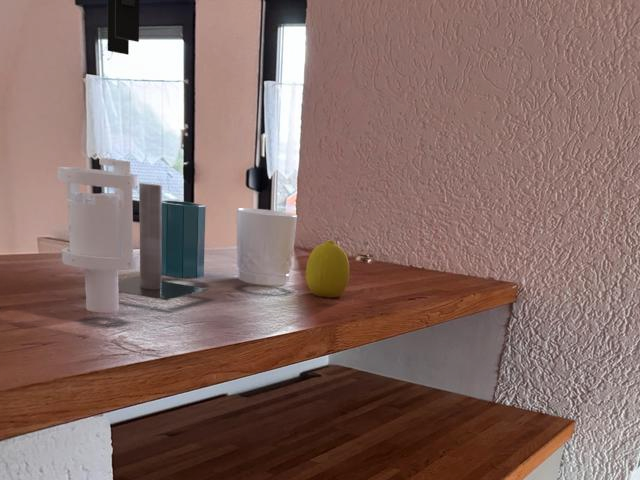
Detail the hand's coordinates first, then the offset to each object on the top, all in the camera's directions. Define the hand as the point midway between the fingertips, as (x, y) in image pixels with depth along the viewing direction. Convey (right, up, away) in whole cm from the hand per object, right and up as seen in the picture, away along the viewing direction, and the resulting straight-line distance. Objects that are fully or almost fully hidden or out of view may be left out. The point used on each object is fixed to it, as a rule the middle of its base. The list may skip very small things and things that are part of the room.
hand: (122, 46), depth 95 cm
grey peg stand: (+6, -35, -9) cm, 36 cm away
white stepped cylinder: (+5, -40, -22) cm, 46 cm away
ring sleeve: (+7, -30, +3) cm, 31 cm away
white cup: (+18, -30, +5) cm, 35 cm away
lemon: (+26, -33, 0) cm, 43 cm away
